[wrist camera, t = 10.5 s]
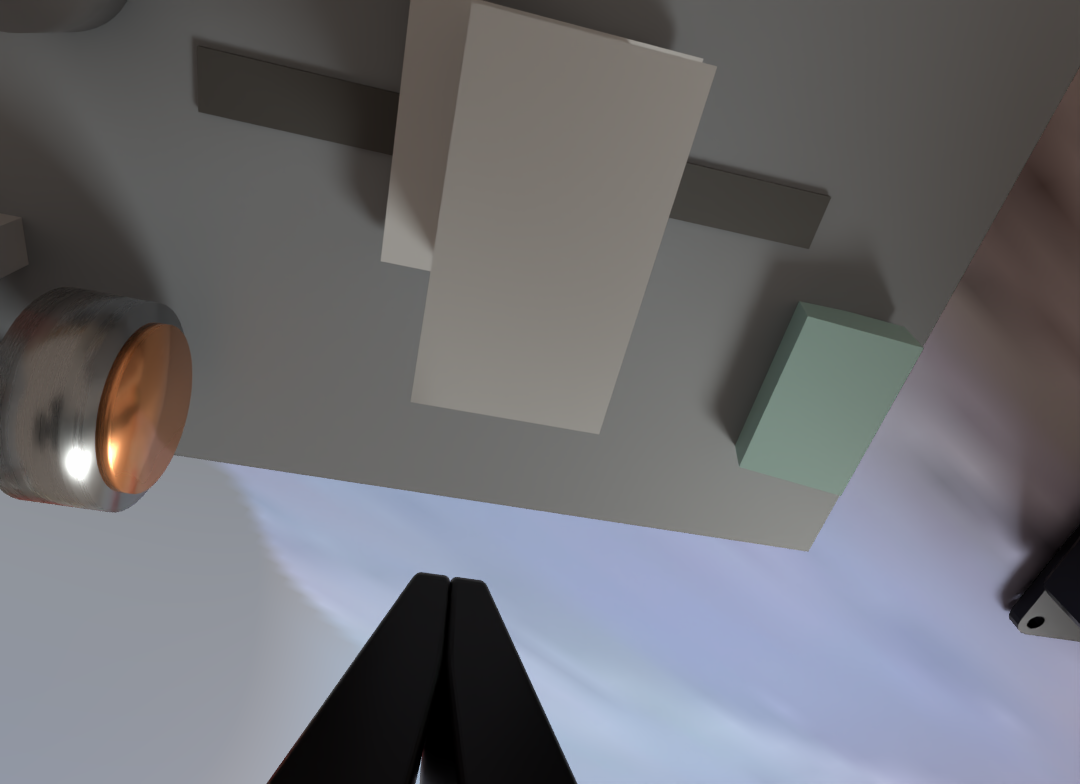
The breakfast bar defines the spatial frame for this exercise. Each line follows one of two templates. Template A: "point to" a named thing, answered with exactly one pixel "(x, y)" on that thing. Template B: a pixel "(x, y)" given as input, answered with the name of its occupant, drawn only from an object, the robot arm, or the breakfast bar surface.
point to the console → (400, 292)
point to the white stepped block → (532, 202)
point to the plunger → (91, 398)
